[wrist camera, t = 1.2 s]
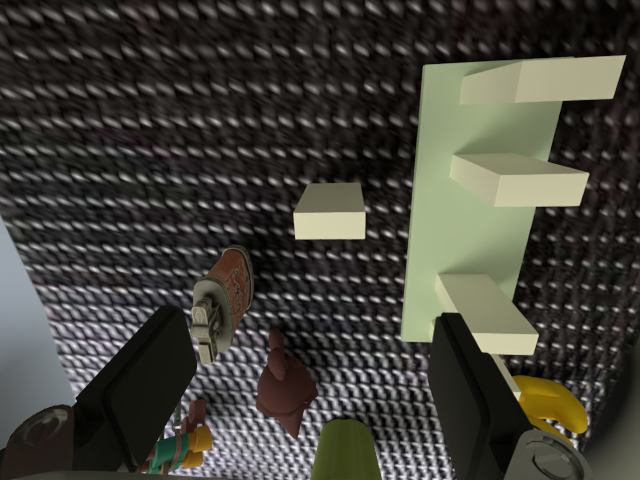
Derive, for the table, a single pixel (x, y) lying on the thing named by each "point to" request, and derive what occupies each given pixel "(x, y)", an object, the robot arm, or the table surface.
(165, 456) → the binoculars
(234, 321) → the lighter
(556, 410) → the duckling
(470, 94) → the domino
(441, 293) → the domino
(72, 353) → the table surface
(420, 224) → the board
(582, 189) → the domino
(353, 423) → the plant pot
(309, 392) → the icecream
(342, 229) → the domino
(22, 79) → the table surface
